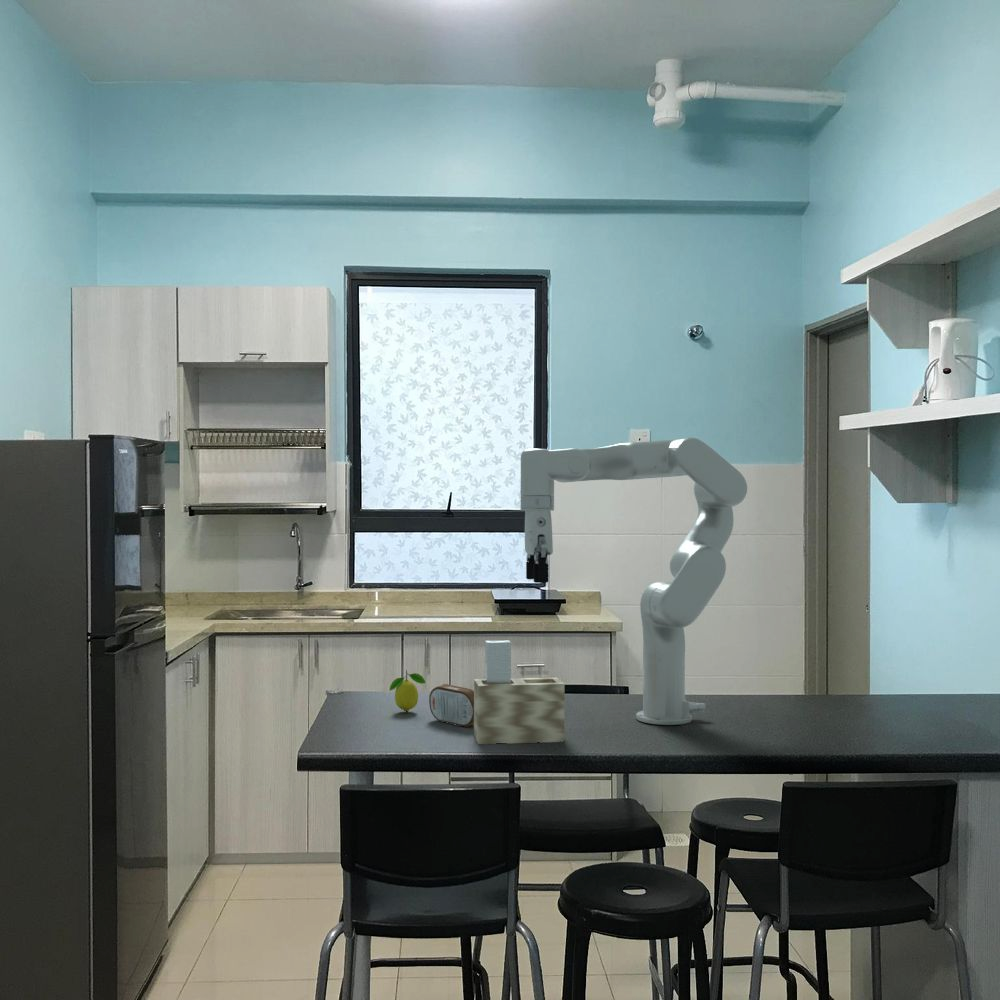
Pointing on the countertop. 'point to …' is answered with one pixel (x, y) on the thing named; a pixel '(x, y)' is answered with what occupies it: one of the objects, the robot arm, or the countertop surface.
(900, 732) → the countertop surface
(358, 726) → the countertop surface
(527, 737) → the two-slot cinder block
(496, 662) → the grey slab
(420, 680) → the lemon
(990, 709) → the countertop surface
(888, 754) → the countertop surface
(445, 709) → the tin
